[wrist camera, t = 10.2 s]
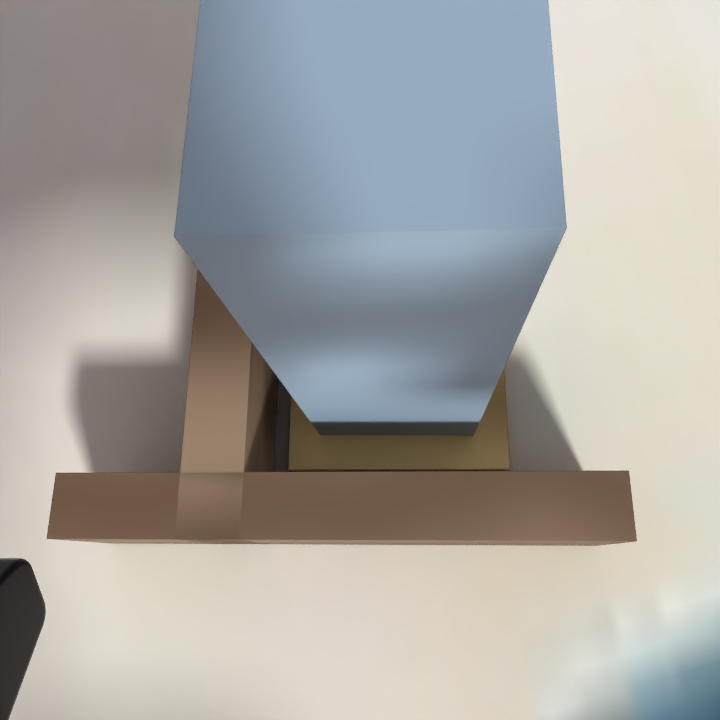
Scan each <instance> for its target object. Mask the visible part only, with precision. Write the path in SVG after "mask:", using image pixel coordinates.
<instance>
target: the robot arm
mask: <svg viewBox="0 0 720 720" xmlns="http://www.w3.org/2000/svg"><path fill="white" fill-rule="evenodd" d="M44 619H45V603H44V600H43V597H42V594H41V591H40V589H39V586H38V583H37V580H36V578H35V575H34V572H33V570H32V567H31V565H30V563H29V562H27V561H26V560H25V559H21V558H0V720H9V717H10V714H11V711H12V709H13V706H14V703H15V700H16V698H17V695H18V692H19V689H20V687H21V684H22V681H23V679H24V676H25V673H26V670H27V668H28V665H29V662H30V659H31V657H32V654H33V651H34V648H35V646H36V643H37V640H38V638H39V635H40V632H41V629H42V627H43V623H44Z"/></svg>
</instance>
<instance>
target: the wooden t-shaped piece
mask: <svg viewBox="0 0 720 720" xmlns="http://www.w3.org/2000/svg"><path fill="white" fill-rule="evenodd" d="M277 386H278V377H277V376H276V374H275V373H274V371H273V370H272V369H271V367H270V366H269V365H268V363H267V362H266V361H265V359H264V358H263V357H262V355H261V354H260V352H259V351H258V350H257V348H256V347H255V346H254V344H253V343H252V342H251V340H250V339H249V337H248V336H247V335H246V333H245V332H244V331H243V329H242V328H241V327H240V325H239V324H238V323H237V321H236V320H235V318H234V317H233V316H232V314H231V313H230V312H229V310H228V309H227V308H226V306H225V305H224V303H223V302H222V301H221V299H220V298H219V297H218V295H217V294H216V293H215V291H214V290H213V289H212V287H211V286H210V284H209V283H208V282H207V280H206V279H205V278H204V276H203V275H202V274H201V272H200V271H199V269H198V272H197V283H196V295H195V306H194V318H193V329H192V341H191V353H190V364H189V376H188V387H187V399H186V411H185V422H184V434H183V445H182V457H181V468H180V472H147V473H56V476H55V483H54V490H53V498H52V505H51V512H50V519H49V526H48V533H47V539H58V540H72V541H86V542H100V543H173V544H378V545H584V546H597V545H607V544H616V543H625V542H635V541H637V539H636V530H635V521H634V512H633V503H632V494H631V485H630V476H629V471H413V472H274V453H275V430H276V408H277ZM509 469H510V463H509V447H508V430H507V413H506V396H505V379H504V369H503V371H502V373H501V376H500V378H499V380H498V382H497V385H496V387H495V389H494V391H493V394H492V396H491V398H490V400H489V402H488V405H487V407H486V409H485V411H484V414H483V416H482V418H481V420H480V423H479V425H478V427H477V429H476V431H475V434H474V436H427V435H320V434H319V433H318V431H317V430H316V429H315V427H314V426H313V425H312V423H311V422H310V420H309V419H308V418H307V416H306V415H305V414H304V412H303V411H302V410H301V408H300V407H299V405H298V404H297V403H296V401H295V400H294V399H293V397H292V396H291V415H290V441H289V467H288V470H290V471H380V470H509Z"/></svg>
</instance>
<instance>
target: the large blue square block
mask: <svg viewBox="0 0 720 720" xmlns="http://www.w3.org/2000/svg"><path fill="white" fill-rule="evenodd" d="M566 228H567V225H566V213H565V201H564V189H563V176H562V164H561V152H560V140H559V127H558V115H557V103H556V91H555V79H554V66H553V54H552V42H551V30H550V17H549V5H548V0H201V1H200V10H199V19H198V27H197V36H196V45H195V54H194V63H193V72H192V81H191V90H190V99H189V108H188V117H187V126H186V135H185V144H184V153H183V162H182V171H181V180H180V189H179V198H178V207H177V216H176V225H175V234H174V237H175V238H176V240H177V241H178V242H179V244H180V245H181V246H182V248H183V249H184V250H185V252H186V253H187V255H188V256H189V257H190V259H191V260H192V261H193V263H194V264H195V265H196V267H197V268H198V269H199V271H200V272H201V274H202V275H203V276H204V278H205V279H206V280H207V282H208V283H209V284H210V286H211V287H212V289H213V290H214V291H215V293H216V294H217V295H218V297H219V298H220V299H221V301H222V302H223V303H224V305H225V306H226V308H227V309H228V310H229V312H230V313H231V314H232V316H233V317H234V318H235V320H236V321H237V323H238V324H239V325H240V327H241V328H242V329H243V331H244V332H245V333H246V335H247V336H248V337H249V339H250V340H251V342H252V343H253V344H254V346H255V347H256V348H257V350H258V351H259V352H260V354H261V355H262V357H263V358H264V359H265V361H266V362H267V363H268V365H269V366H270V367H271V369H272V370H273V371H274V373H275V374H276V376H277V377H278V378H279V380H280V381H281V382H282V384H283V385H284V386H285V388H286V389H287V391H288V392H289V393H290V395H291V396H292V397H293V399H294V400H295V401H296V403H297V404H298V405H299V407H300V408H301V410H302V411H303V412H304V414H305V415H306V416H307V418H308V419H309V420H310V422H311V423H312V425H313V426H314V427H315V429H316V430H317V431H318V433H319V434H320V435H427V436H474V434H475V431H476V429H477V427H478V425H479V423H480V420H481V418H482V416H483V414H484V411H485V409H486V407H487V405H488V402H489V400H490V398H491V396H492V394H493V391H494V389H495V387H496V385H497V382H498V380H499V378H500V376H501V373H502V371H503V369H504V367H505V364H506V362H507V360H508V358H509V356H510V353H511V351H512V349H513V347H514V344H515V342H516V340H517V338H518V335H519V333H520V331H521V329H522V327H523V324H524V322H525V320H526V318H527V315H528V313H529V311H530V309H531V306H532V304H533V302H534V300H535V298H536V295H537V293H538V291H539V289H540V286H541V284H542V282H543V280H544V277H545V275H546V273H547V271H548V268H549V266H550V264H551V262H552V260H553V257H554V255H555V253H556V251H557V248H558V246H559V244H560V242H561V239H562V237H563V235H564V233H565V231H566Z"/></svg>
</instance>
